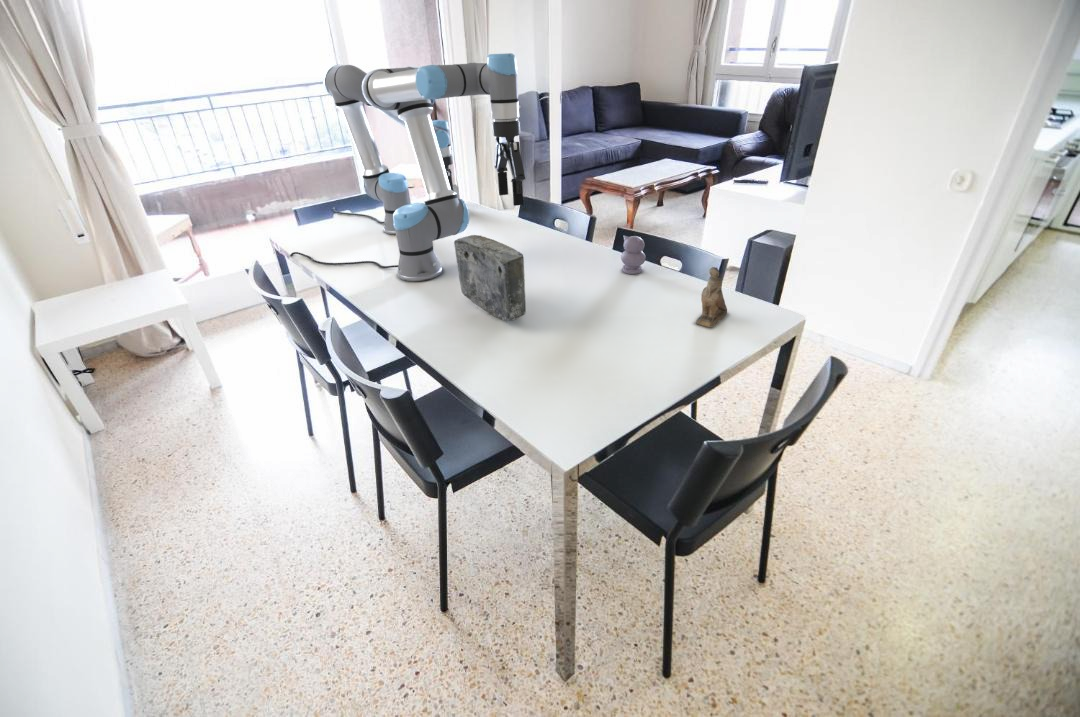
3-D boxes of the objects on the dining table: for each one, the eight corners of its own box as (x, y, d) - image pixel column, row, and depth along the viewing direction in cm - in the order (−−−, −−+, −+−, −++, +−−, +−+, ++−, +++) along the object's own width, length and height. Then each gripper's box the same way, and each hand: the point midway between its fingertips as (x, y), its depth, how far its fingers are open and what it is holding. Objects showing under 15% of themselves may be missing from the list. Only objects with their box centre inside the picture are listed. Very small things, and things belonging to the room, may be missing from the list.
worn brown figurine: (709, 335, 136) (713, 280, 124) (691, 329, 139) (693, 274, 128) (730, 313, 142) (736, 258, 130) (712, 307, 145) (716, 253, 133)
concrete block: (533, 322, 141) (530, 255, 130) (507, 332, 136) (501, 263, 126) (485, 293, 159) (479, 232, 149) (460, 300, 155) (452, 238, 145)
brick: (442, 211, 247) (439, 188, 241) (440, 209, 251) (437, 186, 245) (460, 209, 249) (458, 186, 244) (458, 206, 254) (455, 184, 248)
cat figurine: (649, 270, 171) (652, 236, 165) (636, 276, 167) (638, 242, 160) (628, 264, 176) (630, 231, 170) (615, 271, 172) (617, 237, 165)
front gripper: (535, 123, 126) (538, 207, 137) (504, 115, 146) (509, 189, 157) (506, 125, 124) (512, 211, 135) (480, 117, 143) (486, 192, 155)
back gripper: (456, 157, 231) (461, 208, 243) (447, 152, 245) (453, 199, 258) (440, 159, 228) (446, 210, 241) (432, 153, 243) (439, 201, 255)
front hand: (510, 199), depth 146 cm, fingers open, 13 cm apart
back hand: (450, 204), depth 249 cm, fingers closed on brick, 5 cm apart
